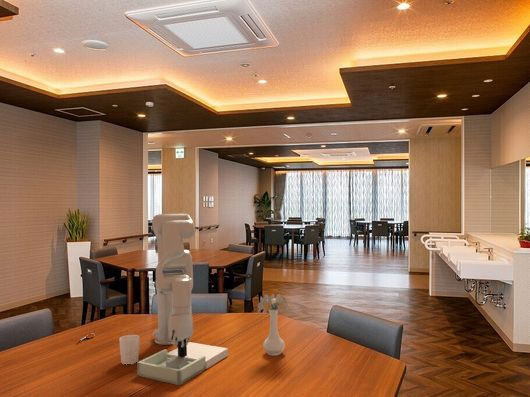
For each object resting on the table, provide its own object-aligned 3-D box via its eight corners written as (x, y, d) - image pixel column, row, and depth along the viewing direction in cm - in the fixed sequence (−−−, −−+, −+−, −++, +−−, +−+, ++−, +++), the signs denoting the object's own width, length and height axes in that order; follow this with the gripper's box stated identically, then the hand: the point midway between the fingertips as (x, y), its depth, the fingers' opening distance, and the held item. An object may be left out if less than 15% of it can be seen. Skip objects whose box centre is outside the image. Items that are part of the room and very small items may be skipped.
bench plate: (165, 361, 175) (165, 353, 175) (189, 348, 189) (189, 342, 189) (206, 368, 166) (206, 361, 166) (227, 355, 180) (227, 348, 180)
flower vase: (288, 345, 191) (287, 290, 192) (288, 360, 173) (287, 299, 173) (259, 345, 192) (259, 290, 193) (256, 360, 174) (255, 299, 174)
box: (137, 375, 160) (137, 362, 160) (165, 361, 174) (165, 349, 174) (179, 385, 151) (179, 371, 151) (205, 369, 165) (205, 356, 165)
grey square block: (165, 369, 163) (165, 362, 163) (175, 363, 168) (174, 355, 168) (179, 372, 160) (178, 364, 160) (188, 365, 166) (187, 357, 166)
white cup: (143, 359, 177) (143, 335, 177) (131, 366, 169) (131, 341, 169) (127, 357, 179) (127, 333, 179) (115, 364, 172) (115, 339, 172)
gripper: (185, 304, 177) (186, 349, 177) (161, 313, 164) (162, 361, 163) (200, 306, 174) (201, 351, 173) (177, 315, 160) (178, 364, 160)
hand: (182, 356), depth 168 cm, fingers closed
